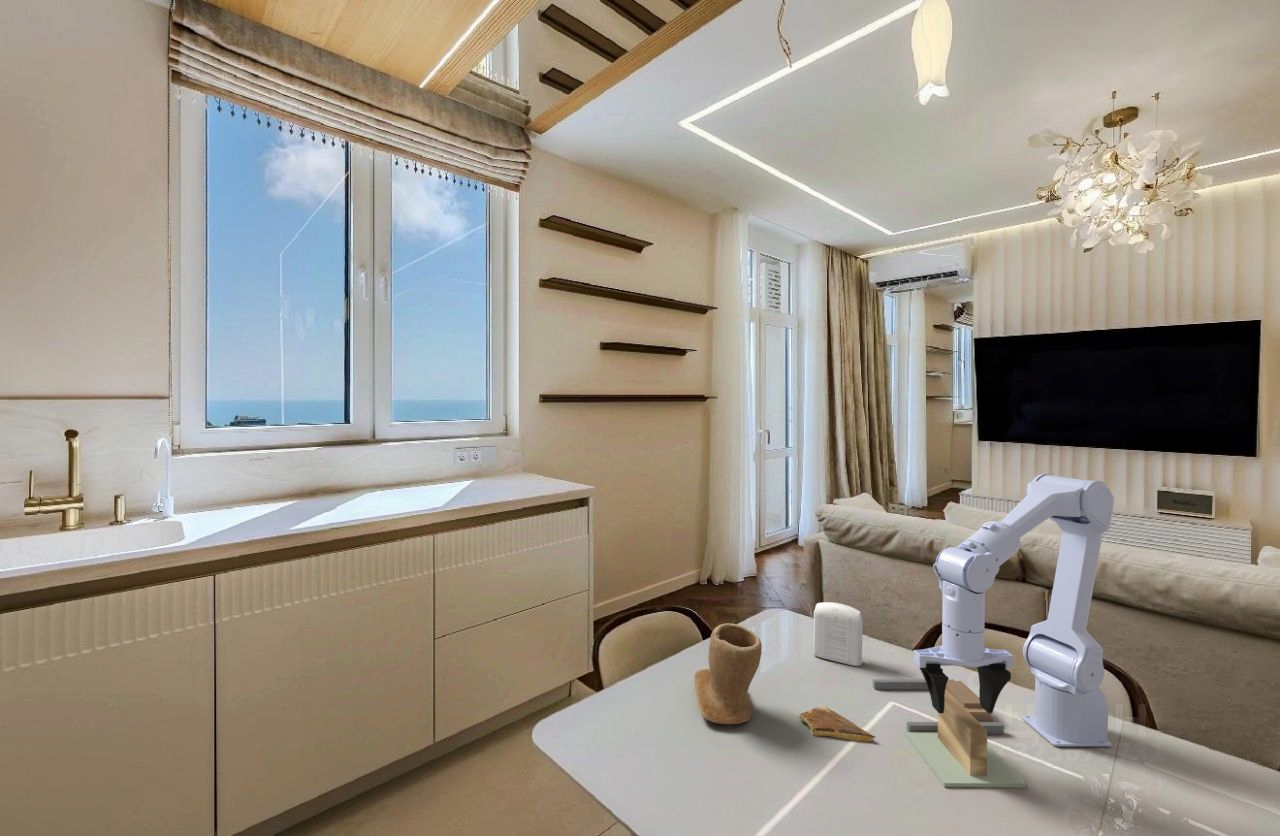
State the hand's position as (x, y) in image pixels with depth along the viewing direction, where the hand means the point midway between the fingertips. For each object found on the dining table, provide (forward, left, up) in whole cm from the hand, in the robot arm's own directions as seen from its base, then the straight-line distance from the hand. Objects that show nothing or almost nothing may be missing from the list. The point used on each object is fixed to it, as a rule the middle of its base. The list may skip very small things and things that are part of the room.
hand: (962, 709), depth 84 cm
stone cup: (+35, -15, -8) cm, 39 cm away
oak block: (0, 0, -8) cm, 8 cm away
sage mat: (0, 0, -8) cm, 8 cm away
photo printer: (+8, -33, -8) cm, 35 cm away
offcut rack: (-3, -14, -8) cm, 16 cm away
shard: (+17, -9, -9) cm, 21 cm away
